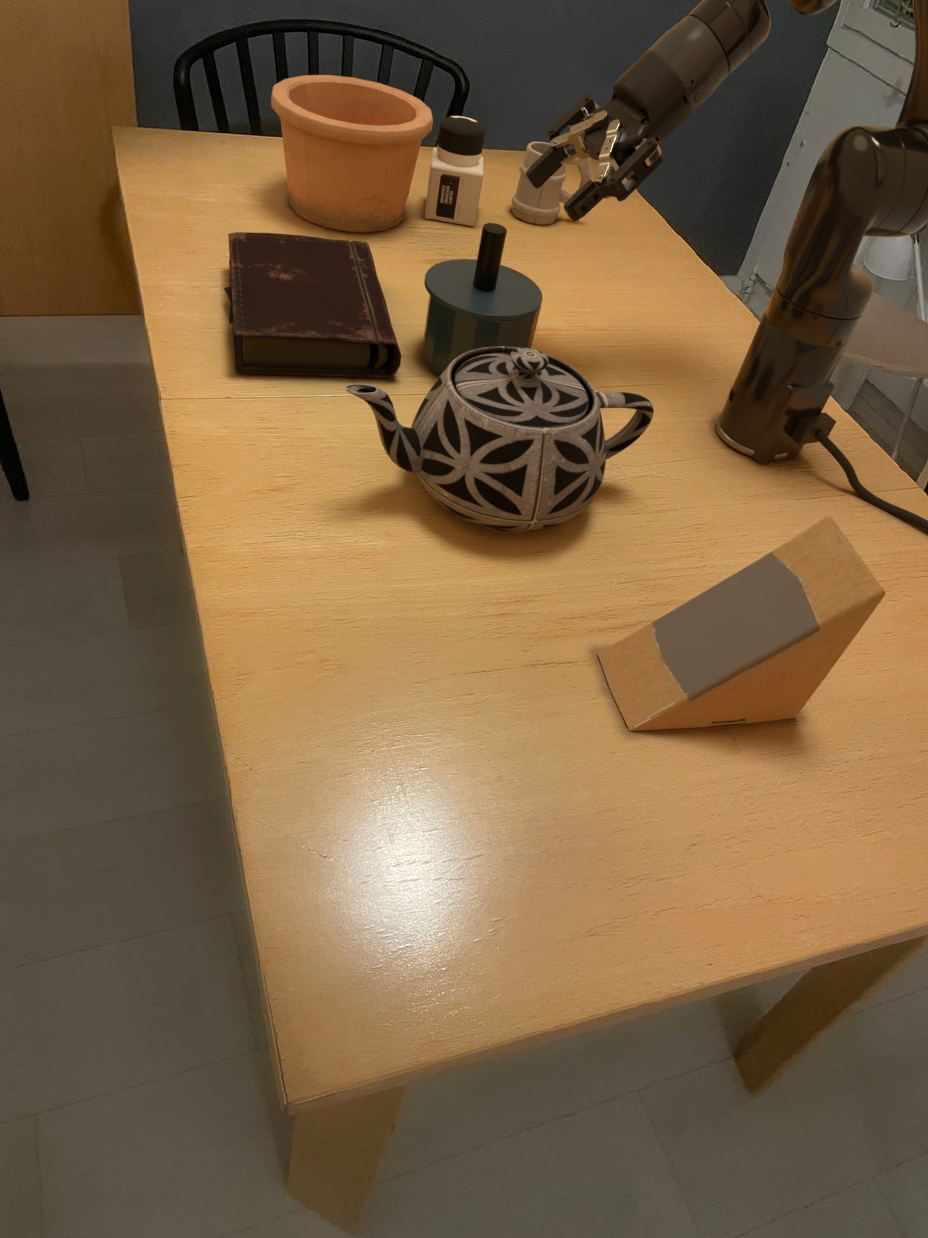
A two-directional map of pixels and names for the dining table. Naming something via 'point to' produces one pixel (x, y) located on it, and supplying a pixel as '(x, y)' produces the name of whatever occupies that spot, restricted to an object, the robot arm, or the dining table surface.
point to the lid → (484, 283)
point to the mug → (544, 188)
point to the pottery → (349, 149)
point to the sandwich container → (747, 639)
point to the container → (456, 172)
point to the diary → (308, 307)
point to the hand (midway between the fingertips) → (549, 197)
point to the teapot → (508, 437)
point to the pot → (469, 335)
